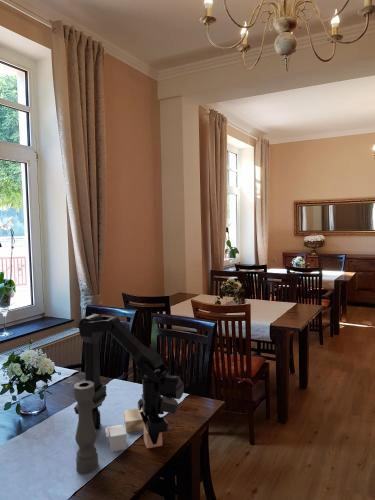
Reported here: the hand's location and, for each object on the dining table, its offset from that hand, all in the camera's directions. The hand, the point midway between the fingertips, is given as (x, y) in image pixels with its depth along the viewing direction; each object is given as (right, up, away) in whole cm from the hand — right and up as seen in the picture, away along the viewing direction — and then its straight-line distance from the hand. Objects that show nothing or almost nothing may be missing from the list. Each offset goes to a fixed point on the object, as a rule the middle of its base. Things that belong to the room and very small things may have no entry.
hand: (152, 439), depth 128 cm
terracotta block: (0, -1, 0) cm, 1 cm away
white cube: (-11, -2, -1) cm, 11 cm away
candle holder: (-18, -3, -12) cm, 22 cm away
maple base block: (-7, -1, +12) cm, 13 cm away
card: (-14, -1, +7) cm, 16 cm away
